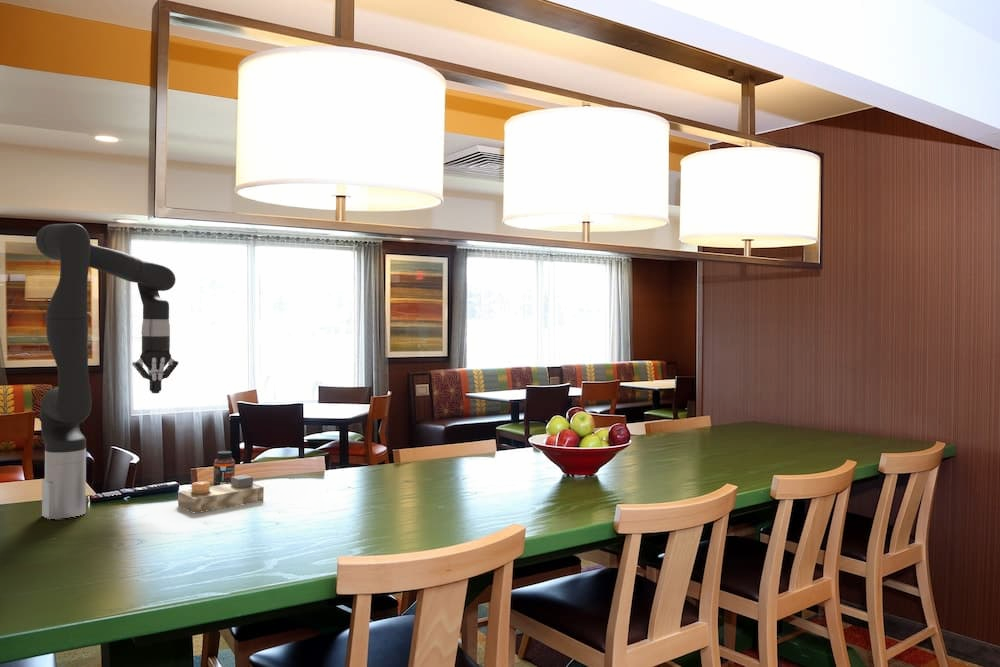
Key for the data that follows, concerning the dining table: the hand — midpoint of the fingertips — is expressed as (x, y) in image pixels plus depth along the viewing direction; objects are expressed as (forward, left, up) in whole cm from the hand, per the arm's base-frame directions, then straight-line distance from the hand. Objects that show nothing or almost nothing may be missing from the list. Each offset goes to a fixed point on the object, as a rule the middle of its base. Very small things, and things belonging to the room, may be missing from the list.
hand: (155, 393), depth 220 cm
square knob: (+14, -27, -28) cm, 41 cm away
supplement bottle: (+16, -12, -29) cm, 35 cm away
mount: (+8, -27, -29) cm, 40 cm away
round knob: (+2, -27, -28) cm, 39 cm away
